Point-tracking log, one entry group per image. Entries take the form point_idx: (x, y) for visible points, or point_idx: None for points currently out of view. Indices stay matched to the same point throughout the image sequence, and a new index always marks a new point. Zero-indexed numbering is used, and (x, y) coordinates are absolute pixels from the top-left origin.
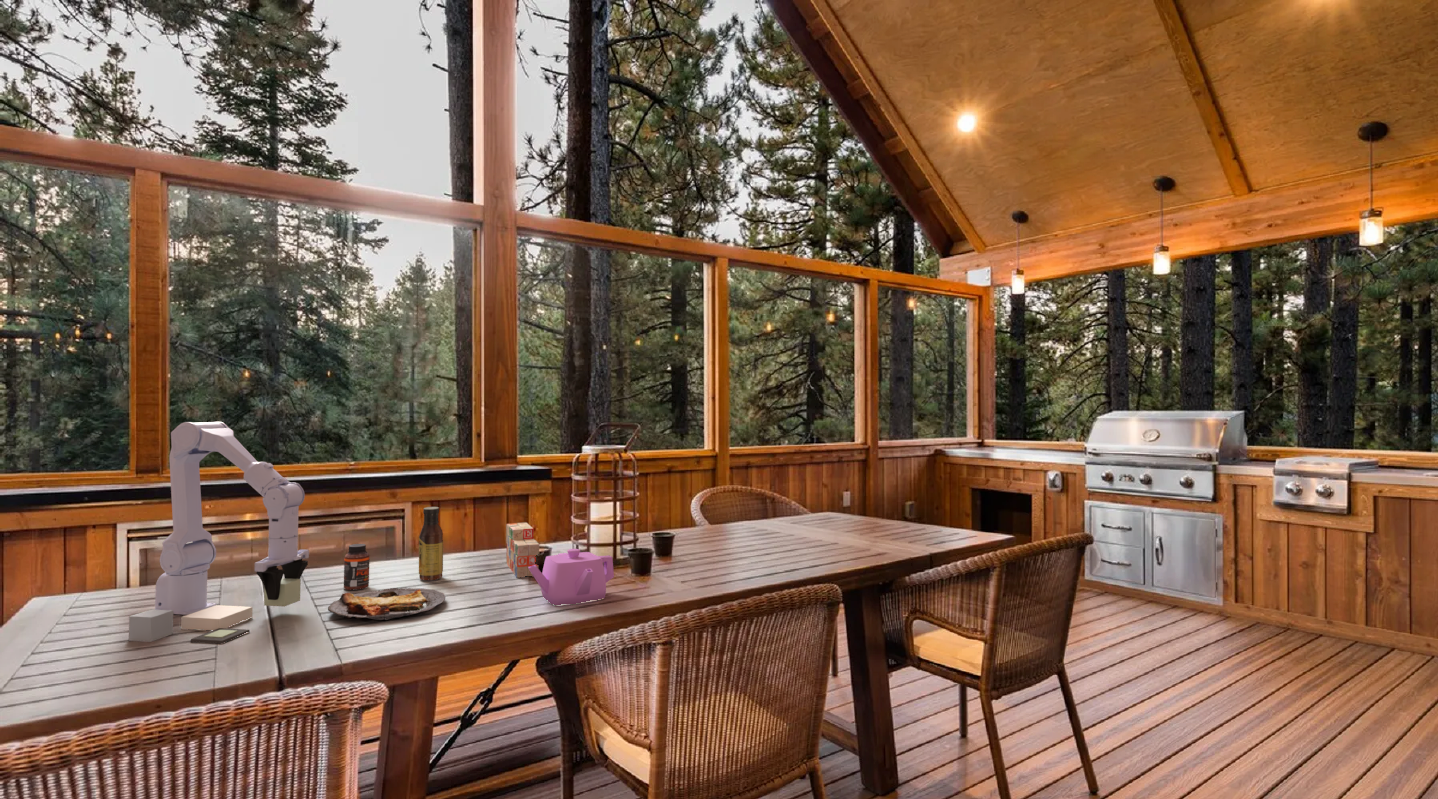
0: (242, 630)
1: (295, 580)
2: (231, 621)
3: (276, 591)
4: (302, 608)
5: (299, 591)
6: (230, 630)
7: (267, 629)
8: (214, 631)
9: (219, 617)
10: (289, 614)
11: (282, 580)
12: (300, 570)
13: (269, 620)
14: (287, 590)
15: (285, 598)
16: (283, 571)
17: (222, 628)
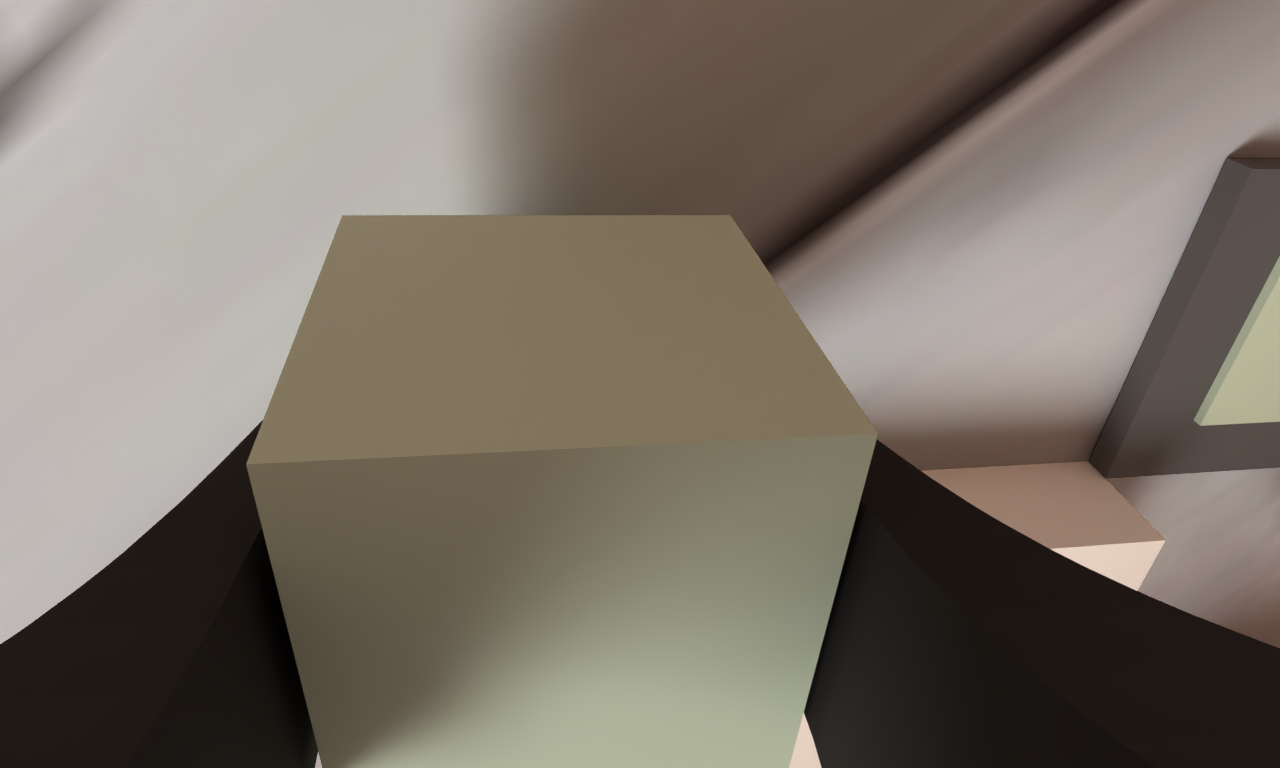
0: (1259, 223)
1: (438, 477)
2: (981, 501)
3: (879, 448)
4: (197, 239)
5: (343, 292)
6: (1262, 320)
7: (1149, 29)
8: (1203, 444)
9: (1111, 572)
10: (505, 213)
11: (515, 699)
12: (94, 732)
13: (773, 272)
14: (733, 341)
15: (746, 268)
16: (1209, 750)
17: (1123, 448)
